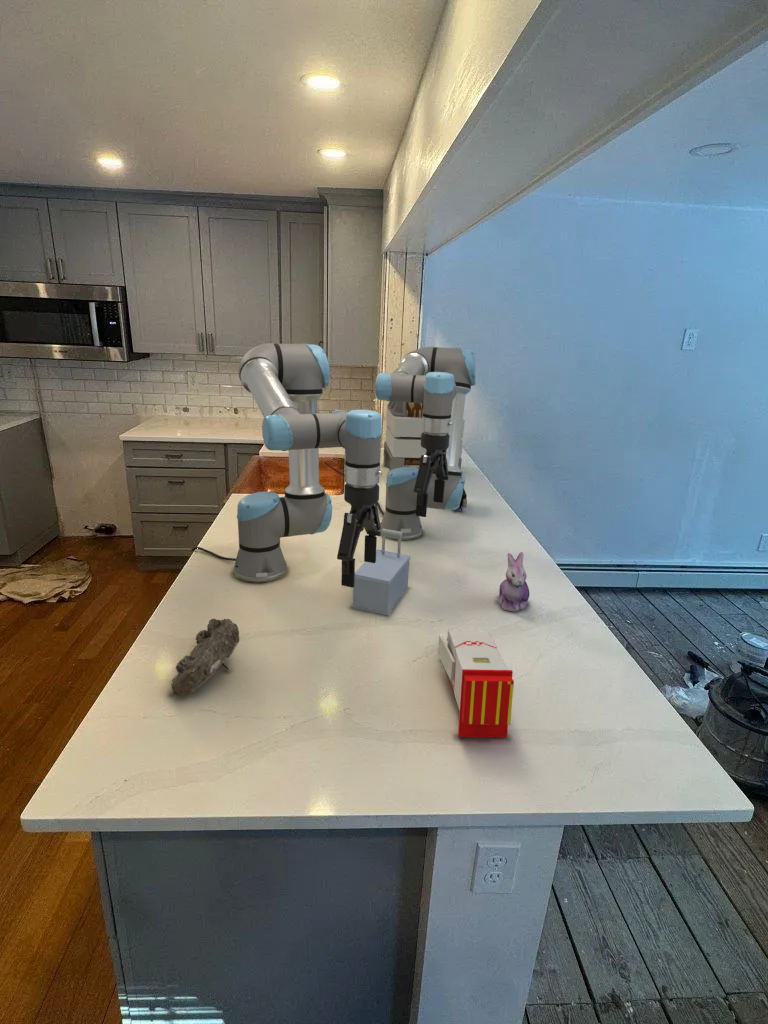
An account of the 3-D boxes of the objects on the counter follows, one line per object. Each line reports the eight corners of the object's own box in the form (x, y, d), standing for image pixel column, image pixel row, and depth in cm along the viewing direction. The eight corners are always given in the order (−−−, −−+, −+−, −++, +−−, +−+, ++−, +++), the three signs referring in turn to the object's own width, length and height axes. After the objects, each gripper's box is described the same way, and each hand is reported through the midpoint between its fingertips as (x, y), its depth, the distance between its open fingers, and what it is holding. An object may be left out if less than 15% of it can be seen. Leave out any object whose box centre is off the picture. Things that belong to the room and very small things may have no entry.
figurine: (511, 616, 149) (518, 564, 143) (487, 598, 157) (493, 549, 152) (539, 609, 153) (547, 558, 148) (514, 592, 161) (521, 544, 156)
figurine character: (467, 516, 223) (461, 500, 237) (469, 499, 220) (463, 483, 233) (450, 516, 223) (446, 499, 236) (452, 498, 220) (447, 483, 233)
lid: (377, 552, 162) (378, 524, 159) (410, 558, 159) (412, 530, 156) (353, 577, 146) (354, 546, 144) (389, 585, 143) (390, 553, 141)
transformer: (382, 463, 289) (386, 382, 275) (445, 464, 293) (451, 384, 279) (390, 482, 257) (394, 392, 243) (460, 483, 261) (468, 394, 247)
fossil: (193, 621, 132) (239, 591, 127) (222, 649, 135) (268, 620, 130) (150, 689, 112) (202, 656, 107) (184, 719, 115) (237, 689, 110)
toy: (488, 613, 130) (523, 677, 101) (484, 667, 133) (517, 744, 104) (435, 612, 130) (455, 676, 101) (432, 666, 133) (451, 743, 103)
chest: (375, 581, 165) (376, 553, 162) (407, 587, 162) (409, 559, 159) (352, 607, 149) (353, 577, 147) (387, 615, 146) (389, 585, 143)
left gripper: (356, 502, 109) (354, 600, 116) (396, 471, 132) (392, 555, 139) (321, 497, 111) (320, 593, 119) (366, 467, 134) (363, 550, 141)
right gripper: (432, 443, 137) (426, 525, 144) (463, 427, 159) (456, 498, 166) (404, 439, 140) (399, 519, 147) (438, 423, 161) (432, 494, 169)
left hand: (359, 573), depth 129 cm, fingers open, 13 cm apart
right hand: (429, 508), depth 156 cm, fingers open, 13 cm apart
